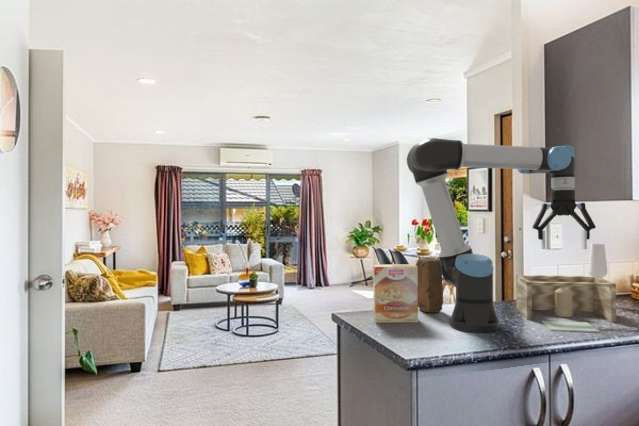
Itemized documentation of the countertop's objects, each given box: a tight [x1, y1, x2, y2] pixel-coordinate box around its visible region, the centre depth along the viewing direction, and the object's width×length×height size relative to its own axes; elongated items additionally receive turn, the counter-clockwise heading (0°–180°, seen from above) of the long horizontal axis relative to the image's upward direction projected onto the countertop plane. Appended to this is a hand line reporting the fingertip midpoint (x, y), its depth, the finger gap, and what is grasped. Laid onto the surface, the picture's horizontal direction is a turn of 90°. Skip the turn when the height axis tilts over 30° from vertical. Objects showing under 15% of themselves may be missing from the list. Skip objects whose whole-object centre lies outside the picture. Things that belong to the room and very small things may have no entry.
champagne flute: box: [587, 243, 609, 279], centre depth 188 cm, size 7×7×24 cm
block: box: [415, 257, 444, 314], centre depth 180 cm, size 11×8×20 cm
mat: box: [541, 320, 600, 334], centre depth 154 cm, size 14×11×1 cm
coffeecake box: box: [372, 263, 419, 324], centre depth 166 cm, size 15×7×20 cm, turn 88°
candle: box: [554, 287, 573, 318], centre depth 170 cm, size 6×6×10 cm
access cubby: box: [515, 274, 617, 323], centre depth 171 cm, size 28×18×13 cm, turn 78°
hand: (563, 248), depth 170 cm, fingers open, 13 cm apart
